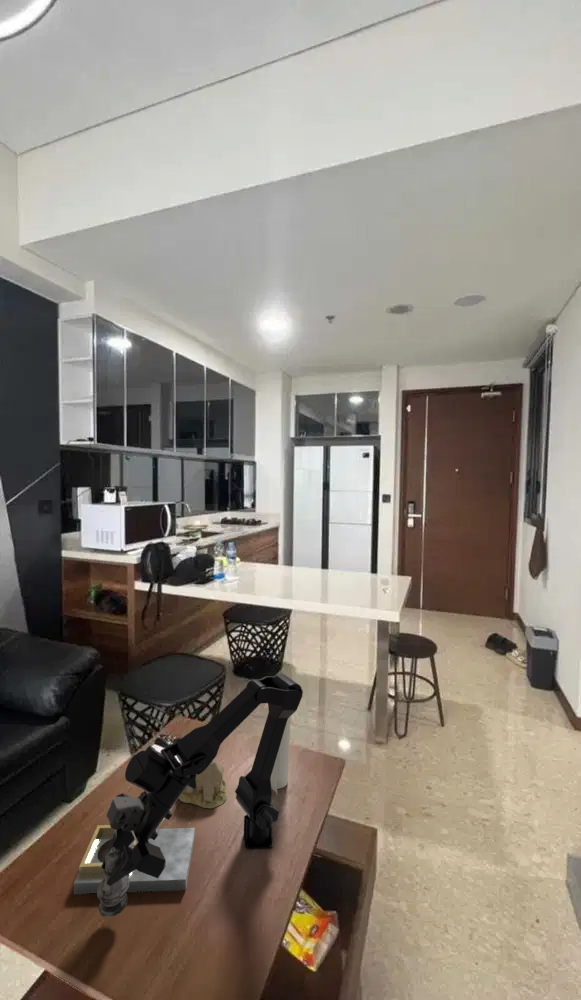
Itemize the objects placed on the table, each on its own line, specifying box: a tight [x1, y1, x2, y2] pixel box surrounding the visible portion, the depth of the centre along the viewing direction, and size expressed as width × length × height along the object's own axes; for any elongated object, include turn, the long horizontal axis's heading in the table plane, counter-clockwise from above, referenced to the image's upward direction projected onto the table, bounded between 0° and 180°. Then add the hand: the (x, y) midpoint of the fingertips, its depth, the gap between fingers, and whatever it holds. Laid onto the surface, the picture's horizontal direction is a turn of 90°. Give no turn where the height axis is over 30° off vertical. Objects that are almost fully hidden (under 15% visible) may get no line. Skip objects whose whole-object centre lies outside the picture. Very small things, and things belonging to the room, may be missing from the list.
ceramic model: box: [178, 759, 228, 809], centre depth 118 cm, size 14×11×10 cm
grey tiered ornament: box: [96, 847, 129, 919], centre depth 84 cm, size 6×6×12 cm
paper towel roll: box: [271, 716, 291, 795], centre depth 122 cm, size 7×6×21 cm
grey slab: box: [73, 824, 196, 895], centre depth 96 cm, size 23×13×4 cm, turn 94°
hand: (105, 876), depth 83 cm, fingers closed on grey tiered ornament, 4 cm apart
